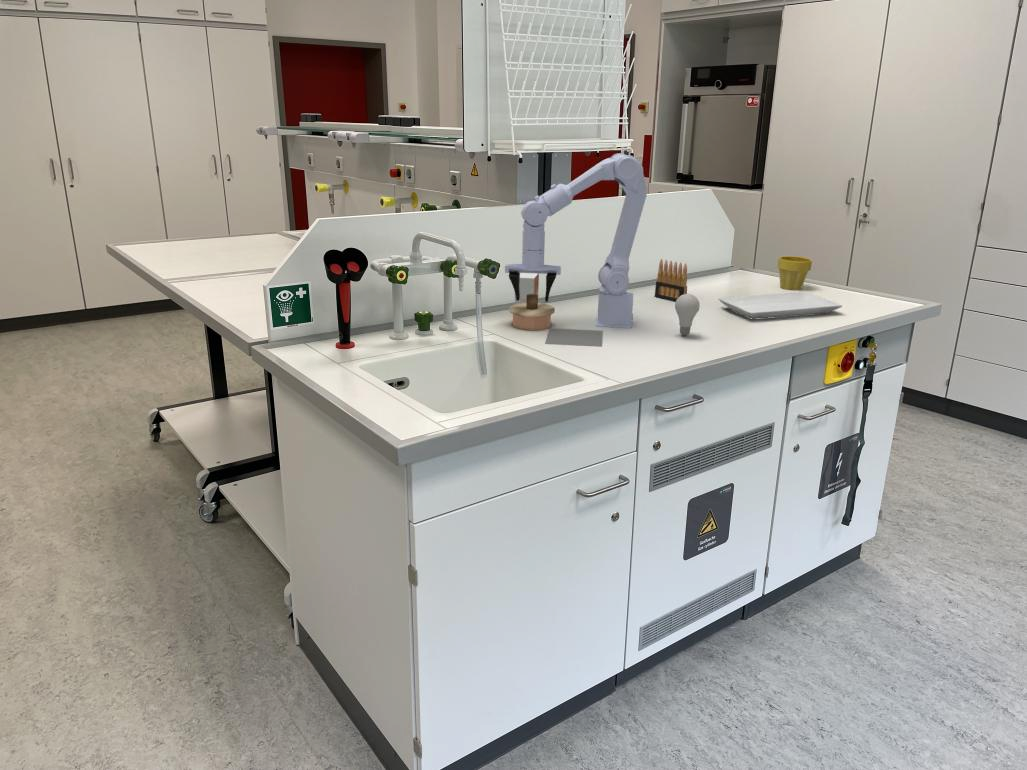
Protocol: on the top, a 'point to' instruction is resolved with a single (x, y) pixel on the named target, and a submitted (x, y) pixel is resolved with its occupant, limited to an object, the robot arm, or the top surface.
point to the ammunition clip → (671, 281)
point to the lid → (532, 308)
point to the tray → (779, 305)
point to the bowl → (531, 322)
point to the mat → (574, 337)
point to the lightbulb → (686, 311)
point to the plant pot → (793, 271)
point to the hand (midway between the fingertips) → (532, 300)
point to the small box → (527, 286)
